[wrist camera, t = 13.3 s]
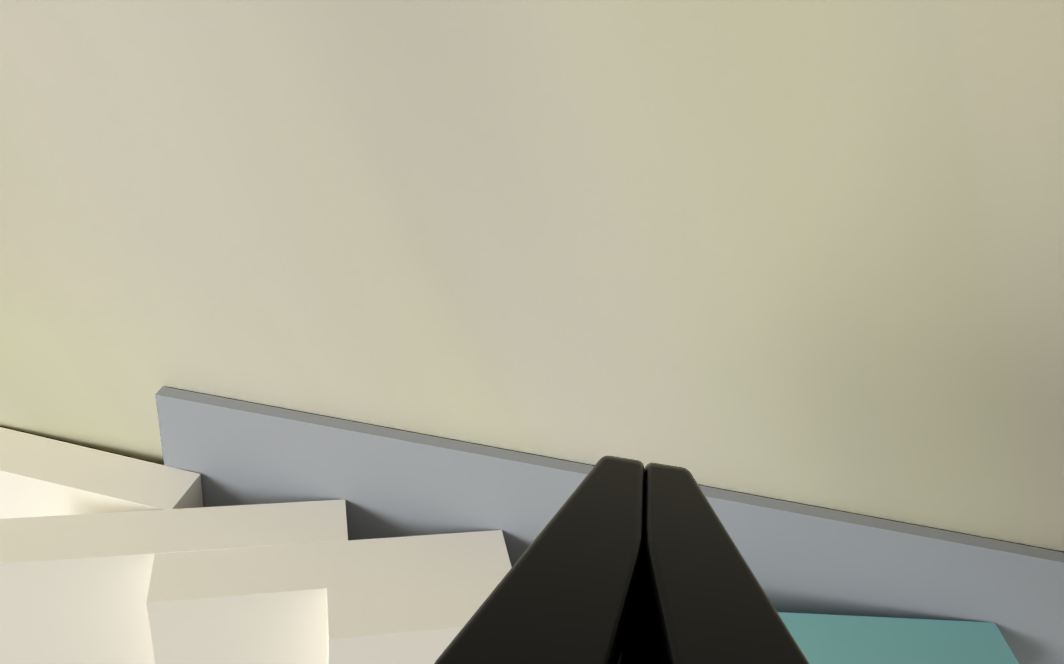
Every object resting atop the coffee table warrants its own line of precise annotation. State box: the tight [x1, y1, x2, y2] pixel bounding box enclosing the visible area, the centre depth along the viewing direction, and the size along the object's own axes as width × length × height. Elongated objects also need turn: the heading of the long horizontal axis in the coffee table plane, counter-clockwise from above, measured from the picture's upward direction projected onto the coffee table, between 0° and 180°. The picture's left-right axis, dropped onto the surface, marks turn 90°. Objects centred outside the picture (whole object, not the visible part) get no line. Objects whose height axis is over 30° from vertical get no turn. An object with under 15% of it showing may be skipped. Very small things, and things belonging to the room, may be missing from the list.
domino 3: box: [146, 530, 512, 664], centre depth 25 cm, size 2×5×9 cm
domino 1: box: [0, 427, 204, 519], centre depth 27 cm, size 2×5×9 cm
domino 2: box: [0, 499, 348, 664], centre depth 25 cm, size 2×5×9 cm
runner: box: [155, 387, 1064, 664], centre depth 27 cm, size 26×10×1 cm, turn 84°
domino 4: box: [327, 573, 507, 664], centre depth 25 cm, size 2×5×9 cm
